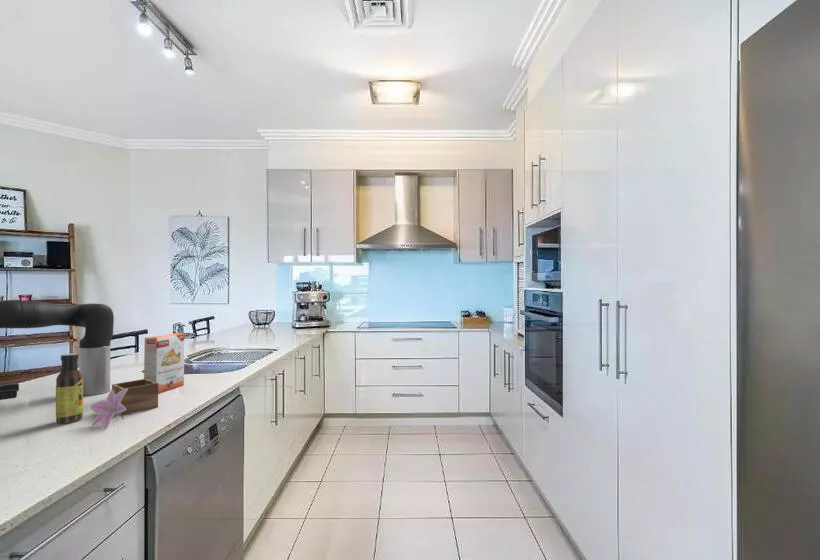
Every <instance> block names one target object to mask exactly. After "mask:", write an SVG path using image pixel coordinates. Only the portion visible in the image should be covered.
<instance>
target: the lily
mask: <svg viewBox="0 0 820 560" xmlns="http://www.w3.org/2000/svg"><path fill="white" fill-rule="evenodd" d="M127 390H128V388H126V389H124V390H122V391H120V392H118V393H117V394H116V395H115V393H114V391H113V389H112V388H111V389H110V391H109V392H108V395H107V397H106V399H105V400H104V399H103V400H99V401H97V402H94V403H92V404H91V405H90V406H89V407H90V410H91V411H93V413H94V414H97V416H96V417H95V418H94V419H93V421H92V422H91V425H90V426H91V427H94V426H95V425H97V424H99V423H101V427H102V428H103V430H104V429H106V430H107V429H108V427H109V426H110V423H111V420H112V418H113V417H114V415H118V414H119V415H120V417H121V419H122V420H125V418H124V415H121V412H123V411H126V410H127V409H126V408H125V407H124V406H123V405H122V404H120V402H121V400H122V398H123V397H124V395H125V393H126V392H127Z"/></svg>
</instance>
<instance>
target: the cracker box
mask: <svg viewBox="0 0 820 560" xmlns="http://www.w3.org/2000/svg"><path fill="white" fill-rule="evenodd" d="M185 335H186V334H185V333H169V334H168V333H167V334H162V335H154V336H149V337H144V348H143V349H144V350H143V351H144V356H143V357H144V358H143V360H144V361H143V362H144V363H143V364H144V365H143V379H149V380H151V381H154V382H157V383H158V394H160V393H163V392H167V391H169V390H173V389H176V388H179V386H180V387H182V385H183V386H184V385H185V384H184V383H185V379H184V378H185V344H186V343H185V341H186V339H185Z"/></svg>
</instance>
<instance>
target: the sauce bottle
mask: <svg viewBox="0 0 820 560" xmlns="http://www.w3.org/2000/svg"><path fill="white" fill-rule="evenodd" d="M60 361H61V368H60V372H59V374H58V375H57V376H56V379H55V381H56V382H55V383H56V384H55V385H56V386H55V417H56V419H55V420H56V424H69V423H73V422H77V421H79V420H81V419H82V418H83V414H84V395H83V377H82V374H81V373H80V371H79V369H78V368H79V353H76V352H75V353H74V352H73V353H63V354H61V355H60Z"/></svg>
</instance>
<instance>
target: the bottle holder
mask: <svg viewBox="0 0 820 560" xmlns="http://www.w3.org/2000/svg"><path fill="white" fill-rule="evenodd" d="M126 388H128V390H127V392H126V393H125V395H124V397H123V398H122V400H121V402H120V404H122V405H123V406H124V407H125V408H126V409H127V410H126V411H123V412H121V415H122V416H126V415H129V414H133V413H140V412H143V411H147V410H152V409H157V408H159V393H158V383H157V382H154V381H151V380H149V379H144V378H141V379H137V380H131V381H124V382H117V383H114V384H113V383H112V384H111V390H112V389H113V391H114V393H115V395H116V394H117V393H118V392H120V391H122V390H124V389H126ZM121 415H120V416H121Z"/></svg>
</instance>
